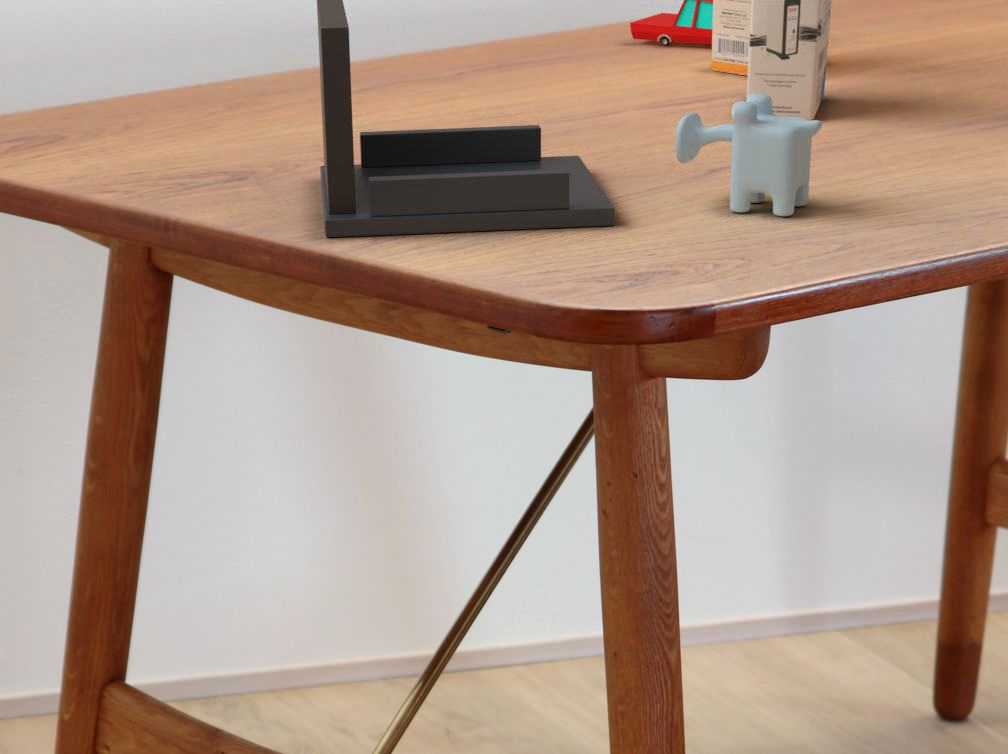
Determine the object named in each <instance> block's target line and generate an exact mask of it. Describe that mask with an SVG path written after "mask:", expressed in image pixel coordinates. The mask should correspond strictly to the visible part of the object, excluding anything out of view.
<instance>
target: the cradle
mask: <svg viewBox="0 0 1008 754" xmlns="http://www.w3.org/2000/svg"><path fill="white" fill-rule="evenodd" d="M316 9H317V10H316V12H317V33H318V34H317V36H318V56H319V79H320V81H319V82H320V99H321V101H320V103H321V120H322V121H321V123H322V125H321V126H322V145H323V164H324V165H320V166H319V172H320V174H319V176H320V187H321V199H322V210H323V222H324V223H323V224H324V232H325V237H326V238H347V237H371V236H372V237H374V236H375V237H376V236H396V235H418V234H419V235H420V234H421V235H422V234H442V233H443V234H444V233H466V232H467V233H469V232H470V233H471V232H492V231H513V230H514V231H516V230H538V229H563V228H588V227H590V228H591V227H608V226H609V227H612V226H615V214H616V213H615V207H614V206H613V204H612V203H611V201H610V200H609V198H608V197H607V195H606V194H605V192H604V191H603V189H602V187H601V186H600V185H599V183H598V182H597V181H596V179H595V177H594V176H593V175H592V173H591V172H590V170H589V168H588V167H587V165H586V164H585V163H584V161H583V160H582V158H581V157H580V156H579V155H558V156H557V155H556V156H542V128H541V126H540V125H539V124H528V125H525V124H524V125H506V126H505V125H503V126H501V125H500V126H480V127H478V126H477V127H453V128H452V127H451V128H429V129H427V128H426V129H401V130H399V129H398V130H377V131H376V130H375V131H360V132H359V148H360V149H359V150H360V151H359V152H360V163H357V164H355V156H354V155H355V152H354V127H353V123H354V122H353V105H352V103H353V102H352V98H353V97H352V76H351V74H352V73H351V50H350V48H351V47H350V46H351V45H350V27H349V23H348V22H349V21H348V19H347V13H346V9H345V5H344V1H343V0H316Z"/></svg>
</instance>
